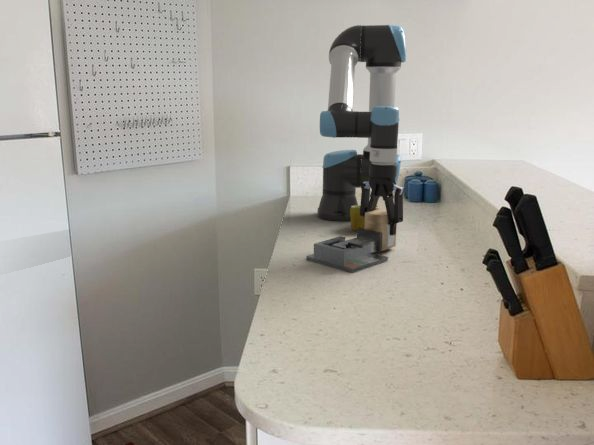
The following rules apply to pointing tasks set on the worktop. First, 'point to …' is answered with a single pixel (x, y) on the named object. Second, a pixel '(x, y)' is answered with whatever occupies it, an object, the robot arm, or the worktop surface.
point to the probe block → (378, 224)
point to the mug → (357, 218)
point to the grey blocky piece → (363, 240)
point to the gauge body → (345, 256)
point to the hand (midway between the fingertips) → (379, 243)
